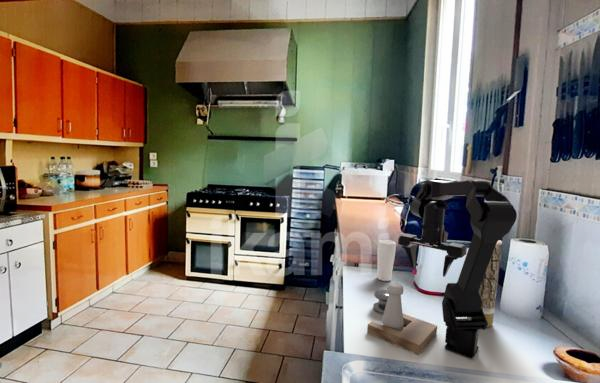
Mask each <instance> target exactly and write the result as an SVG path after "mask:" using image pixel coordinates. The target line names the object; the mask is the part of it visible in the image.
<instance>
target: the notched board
mask: <svg viewBox="0 0 600 383" xmlns="http://www.w3.org/2000/svg"><path fill="white" fill-rule="evenodd" d="M403 322H404V325H403V327H402V329H401V331H400V332H399V331H396V330H394V329H391V328H389V327H386V326H384V325H383V324H381V323H378V322H376V321H373V320H372V321H370V322H369V323H368V324H367V328H366V329H367V330H366V333H367V334H368V335H371V336H373V337H375V338H378V339H380V340H383V341H385V342H388V343H390V344H392V345H394V346H396V347H399V348H401V349H404V350H406V351H408V352H411V353H413V354H416V355H418V356H419V355H420V354H421V353H422V352H423V351H424V349H425V348H426V347H428V345H429V344H430V343H431V341H432V340H433V339H434V338H435V337H436V336H437V334H438V325H436V324H433V323H431V322H428V321H425V320H422V319H420V318H417V317H414V316H411V315H408V314H406V313H403Z"/></svg>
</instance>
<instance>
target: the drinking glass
mask: <svg viewBox="0 0 600 383" xmlns="http://www.w3.org/2000/svg"><path fill="white" fill-rule="evenodd" d="M396 247H397V243H396V241H394V240H391V239H379V240H378V241H377V249H376V250H377V252H376V253H377V254H376V256H377V257H376V258H377V263H376V264H377V270H376V271H377V275H376V276H377V279H378V280H379V281H382V282H390V281H391V280H392V274H393V267H394V264H395V256H396Z"/></svg>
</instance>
